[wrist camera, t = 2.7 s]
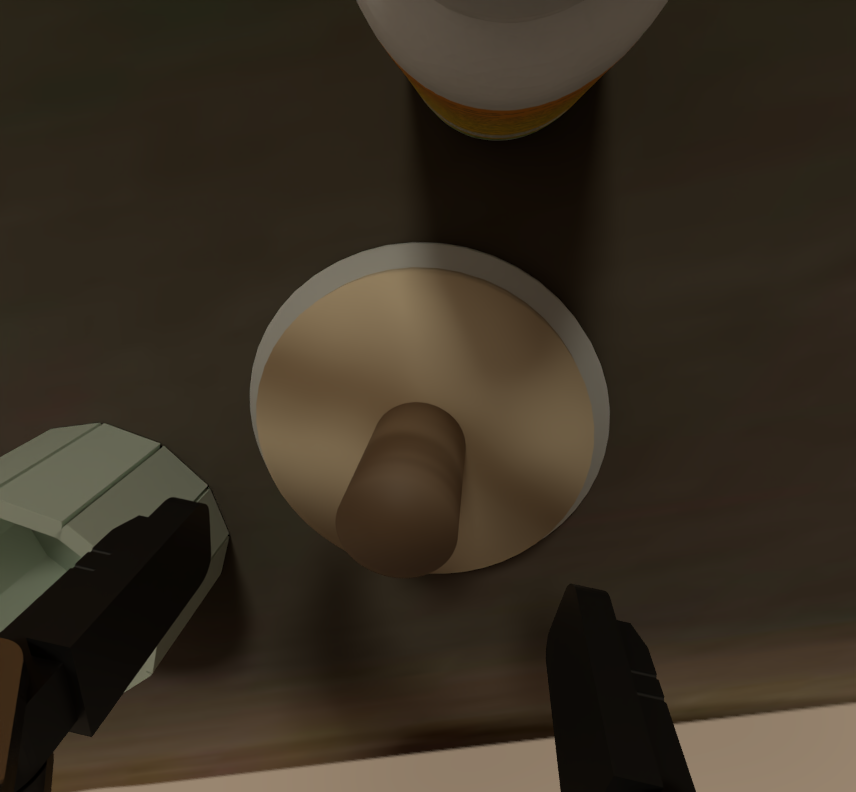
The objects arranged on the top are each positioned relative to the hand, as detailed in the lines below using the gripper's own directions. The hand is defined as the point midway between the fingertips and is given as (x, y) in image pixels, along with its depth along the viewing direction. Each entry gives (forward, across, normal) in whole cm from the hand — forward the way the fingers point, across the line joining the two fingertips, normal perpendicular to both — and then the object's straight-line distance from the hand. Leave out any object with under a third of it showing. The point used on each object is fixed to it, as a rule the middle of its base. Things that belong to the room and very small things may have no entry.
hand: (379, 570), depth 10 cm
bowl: (+8, +13, +8) cm, 17 cm away
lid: (+7, 0, 0) cm, 7 cm away
